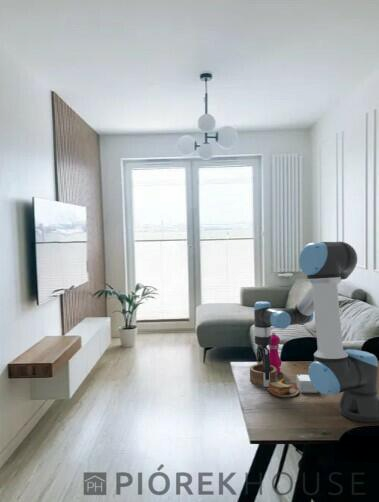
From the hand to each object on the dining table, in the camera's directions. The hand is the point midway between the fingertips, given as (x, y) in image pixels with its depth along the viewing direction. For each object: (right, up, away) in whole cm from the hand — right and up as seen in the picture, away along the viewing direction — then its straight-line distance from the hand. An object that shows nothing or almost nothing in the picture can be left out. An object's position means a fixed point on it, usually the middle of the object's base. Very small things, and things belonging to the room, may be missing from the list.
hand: (263, 380), depth 172 cm
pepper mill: (+8, 0, +12) cm, 14 cm away
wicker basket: (0, 0, 0) cm, 0 cm away
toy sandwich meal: (+6, -1, -13) cm, 14 cm away
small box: (+17, -1, -10) cm, 20 cm away
